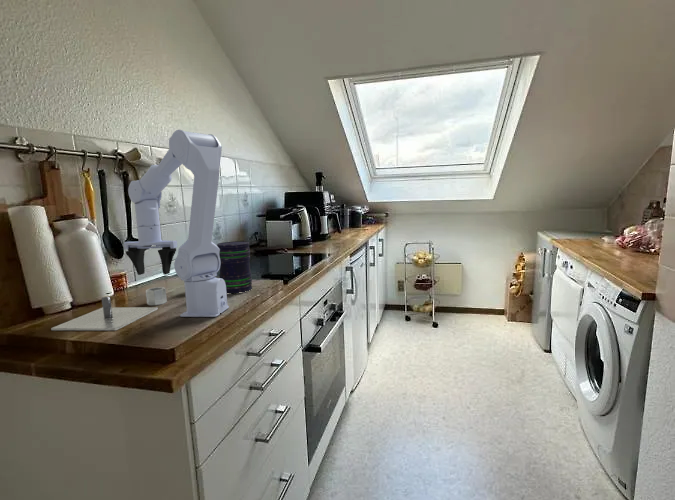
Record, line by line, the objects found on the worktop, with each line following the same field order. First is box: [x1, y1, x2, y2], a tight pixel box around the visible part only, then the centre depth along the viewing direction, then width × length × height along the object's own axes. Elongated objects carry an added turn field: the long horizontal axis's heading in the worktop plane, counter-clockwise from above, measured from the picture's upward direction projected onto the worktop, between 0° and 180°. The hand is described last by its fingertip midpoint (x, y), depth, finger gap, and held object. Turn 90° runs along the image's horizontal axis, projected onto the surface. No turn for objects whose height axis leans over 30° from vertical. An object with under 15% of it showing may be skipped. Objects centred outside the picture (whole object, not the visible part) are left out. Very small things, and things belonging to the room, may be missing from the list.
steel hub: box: [144, 286, 168, 306], centre depth 105 cm, size 5×5×4 cm
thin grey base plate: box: [50, 296, 158, 332], centre depth 91 cm, size 16×16×6 cm
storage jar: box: [216, 240, 253, 294], centre depth 116 cm, size 10×10×15 cm
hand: (153, 274), depth 104 cm, fingers open, 7 cm apart
